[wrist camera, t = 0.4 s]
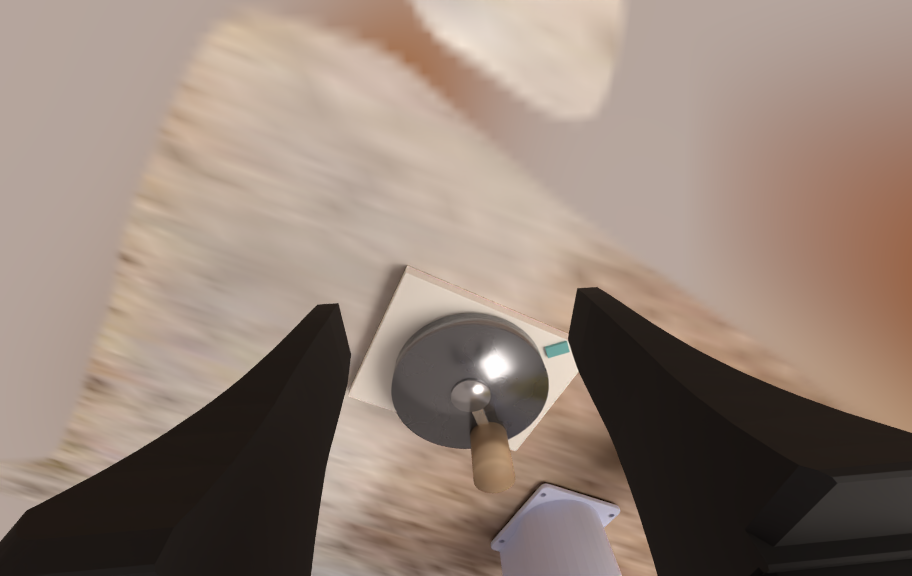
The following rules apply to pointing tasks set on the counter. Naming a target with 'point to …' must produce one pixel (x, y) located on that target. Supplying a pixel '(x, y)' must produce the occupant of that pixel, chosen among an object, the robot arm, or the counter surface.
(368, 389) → the base board
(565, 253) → the counter surface
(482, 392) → the crank wheel
